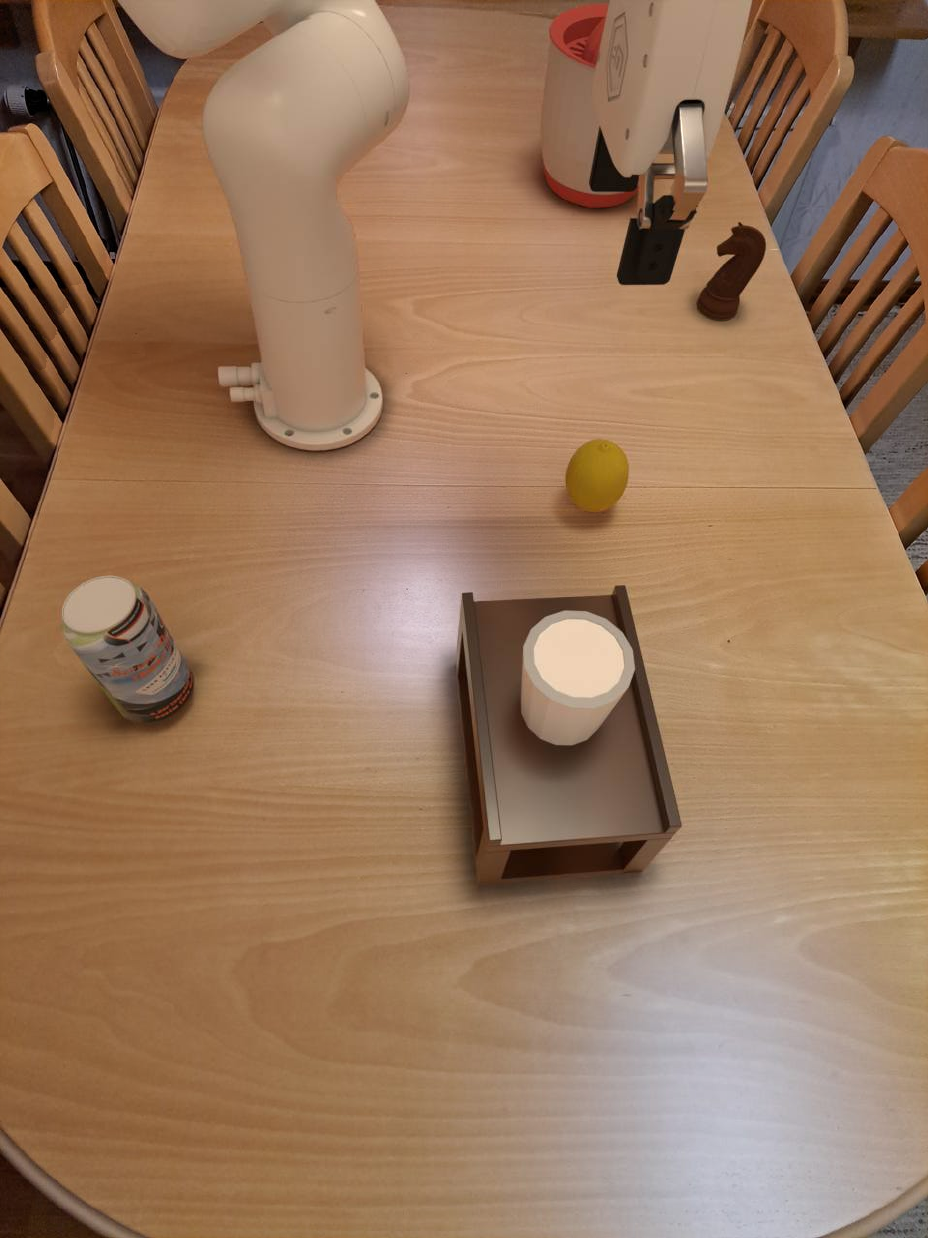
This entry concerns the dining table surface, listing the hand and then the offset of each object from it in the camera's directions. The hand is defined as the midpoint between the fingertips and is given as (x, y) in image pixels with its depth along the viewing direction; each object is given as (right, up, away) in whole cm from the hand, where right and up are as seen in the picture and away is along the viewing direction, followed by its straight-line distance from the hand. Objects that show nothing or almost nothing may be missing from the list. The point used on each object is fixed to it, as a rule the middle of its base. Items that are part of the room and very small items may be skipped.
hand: (626, 233), depth 53 cm
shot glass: (-4, -31, +3) cm, 31 cm away
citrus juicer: (+6, +30, +53) cm, 62 cm away
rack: (-4, -36, +11) cm, 37 cm away
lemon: (+1, -14, +25) cm, 29 cm away
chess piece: (+19, +11, +41) cm, 47 cm away
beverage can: (-35, -30, +12) cm, 48 cm away
